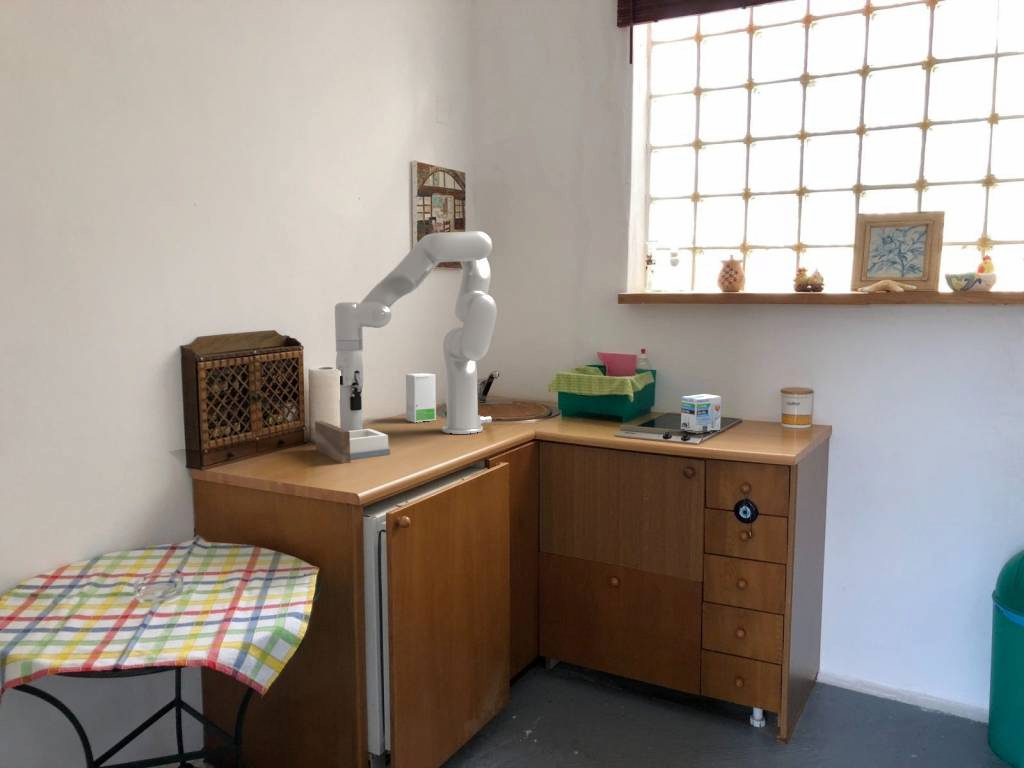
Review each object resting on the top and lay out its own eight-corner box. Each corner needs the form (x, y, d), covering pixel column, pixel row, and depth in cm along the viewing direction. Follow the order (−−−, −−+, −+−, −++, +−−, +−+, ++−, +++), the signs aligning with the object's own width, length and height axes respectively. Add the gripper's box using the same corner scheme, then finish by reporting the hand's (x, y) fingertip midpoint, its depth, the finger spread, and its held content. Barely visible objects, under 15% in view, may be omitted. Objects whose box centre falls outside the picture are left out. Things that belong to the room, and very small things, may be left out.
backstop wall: (322, 449, 218) (321, 420, 217) (350, 462, 201) (349, 431, 200) (315, 450, 217) (314, 421, 216) (342, 463, 200) (341, 432, 199)
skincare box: (414, 423, 258) (413, 375, 256) (405, 420, 263) (404, 373, 261) (437, 420, 262) (436, 374, 260) (428, 418, 268) (427, 372, 266)
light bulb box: (696, 435, 235) (696, 398, 234) (679, 431, 241) (680, 396, 240) (721, 431, 241) (722, 395, 240) (704, 427, 247) (705, 393, 245)
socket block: (369, 445, 222) (368, 428, 221) (390, 454, 210) (389, 435, 210) (327, 450, 216) (327, 432, 215) (347, 460, 204) (346, 440, 203)
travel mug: (359, 443, 225) (356, 373, 223) (337, 443, 227) (334, 373, 224) (367, 439, 231) (365, 371, 229) (346, 438, 233) (344, 370, 230)
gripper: (325, 344, 231) (328, 406, 233) (348, 348, 216) (350, 413, 218) (350, 343, 235) (352, 403, 237) (373, 347, 220) (375, 411, 223)
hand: (351, 408), depth 228 cm, fingers closed on travel mug, 6 cm apart
